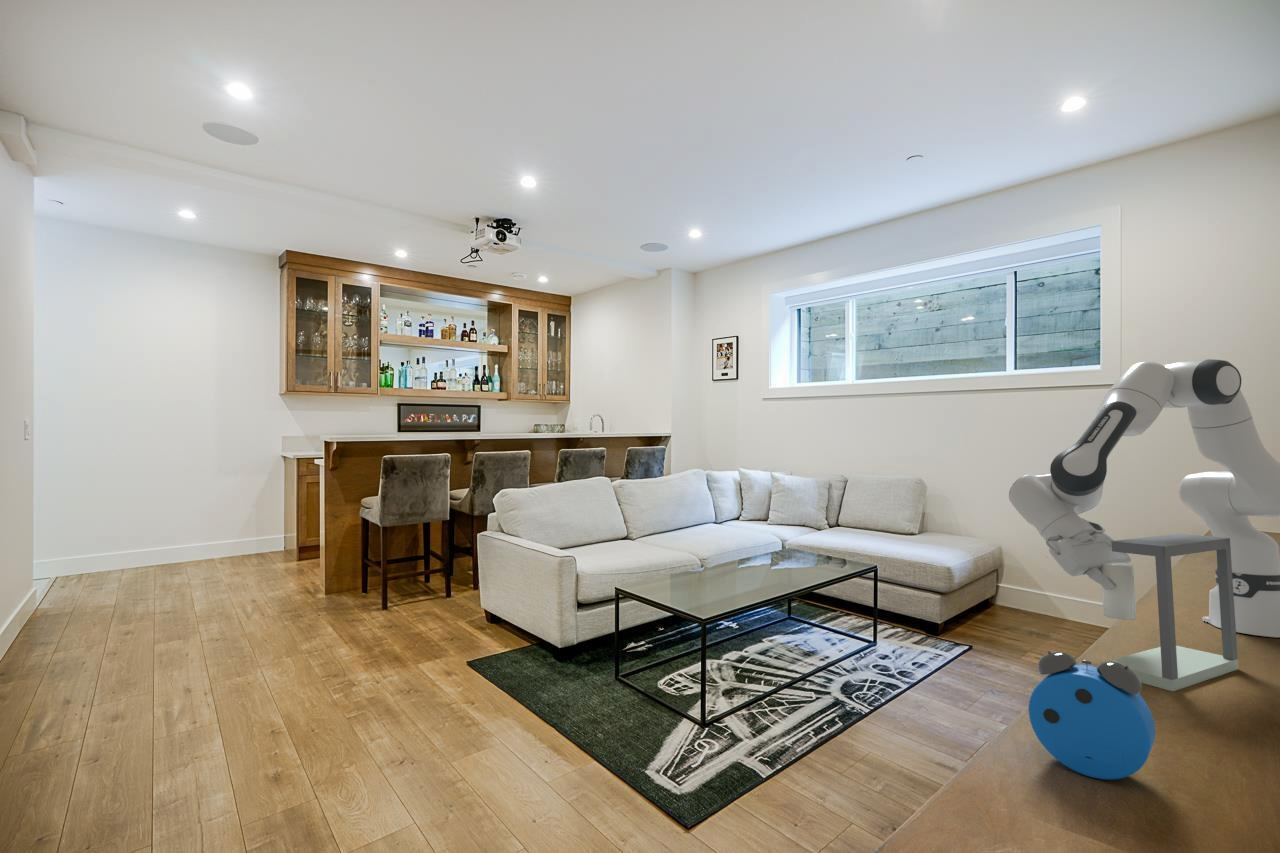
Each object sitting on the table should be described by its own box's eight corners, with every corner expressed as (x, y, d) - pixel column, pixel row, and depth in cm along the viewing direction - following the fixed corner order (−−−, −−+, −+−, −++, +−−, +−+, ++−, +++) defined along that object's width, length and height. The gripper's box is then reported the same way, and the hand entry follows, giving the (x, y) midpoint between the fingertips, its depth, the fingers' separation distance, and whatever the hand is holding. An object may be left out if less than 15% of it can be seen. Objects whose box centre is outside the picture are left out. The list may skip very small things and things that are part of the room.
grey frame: (1170, 653, 129) (1163, 532, 131) (1238, 669, 119) (1229, 538, 121) (1103, 672, 117) (1096, 539, 119) (1173, 691, 108) (1164, 546, 109)
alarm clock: (1158, 780, 78) (1152, 663, 79) (1152, 799, 73) (1145, 674, 74) (1040, 746, 87) (1036, 642, 88) (1029, 761, 83) (1024, 651, 84)
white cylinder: (1111, 612, 130) (1109, 561, 131) (1141, 618, 125) (1138, 565, 126) (1097, 615, 128) (1095, 563, 128) (1127, 621, 123) (1124, 567, 123)
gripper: (1051, 528, 129) (1105, 582, 120) (1104, 524, 138) (1158, 573, 129) (1031, 546, 133) (1082, 600, 124) (1084, 541, 142) (1134, 590, 133)
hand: (1121, 586), depth 126 cm, fingers closed on white cylinder, 5 cm apart
